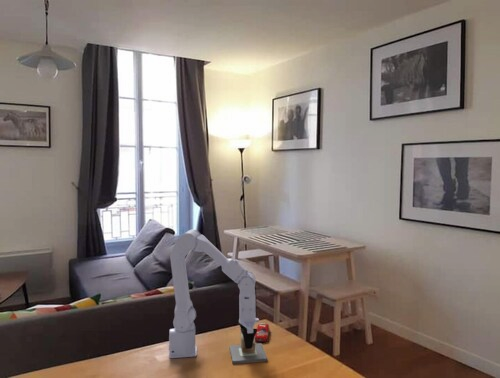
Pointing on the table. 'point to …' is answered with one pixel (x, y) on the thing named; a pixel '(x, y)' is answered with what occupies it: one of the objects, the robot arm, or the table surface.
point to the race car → (262, 332)
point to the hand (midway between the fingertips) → (247, 345)
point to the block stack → (245, 347)
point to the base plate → (247, 354)
